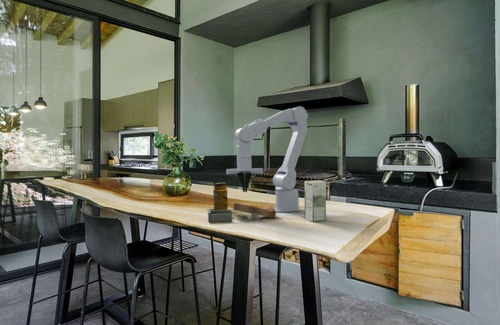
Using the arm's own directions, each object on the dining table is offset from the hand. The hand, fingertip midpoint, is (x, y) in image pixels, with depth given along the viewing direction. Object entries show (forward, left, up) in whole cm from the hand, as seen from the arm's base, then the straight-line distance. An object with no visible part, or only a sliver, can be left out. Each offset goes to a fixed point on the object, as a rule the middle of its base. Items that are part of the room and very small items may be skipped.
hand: (244, 191), depth 127 cm
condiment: (+11, -11, -10) cm, 18 cm away
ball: (-9, +6, -6) cm, 13 cm away
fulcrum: (-3, +6, -9) cm, 12 cm away
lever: (-3, +3, -7) cm, 8 cm away
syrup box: (-25, +13, -10) cm, 30 cm away
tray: (+10, +6, -9) cm, 15 cm away
